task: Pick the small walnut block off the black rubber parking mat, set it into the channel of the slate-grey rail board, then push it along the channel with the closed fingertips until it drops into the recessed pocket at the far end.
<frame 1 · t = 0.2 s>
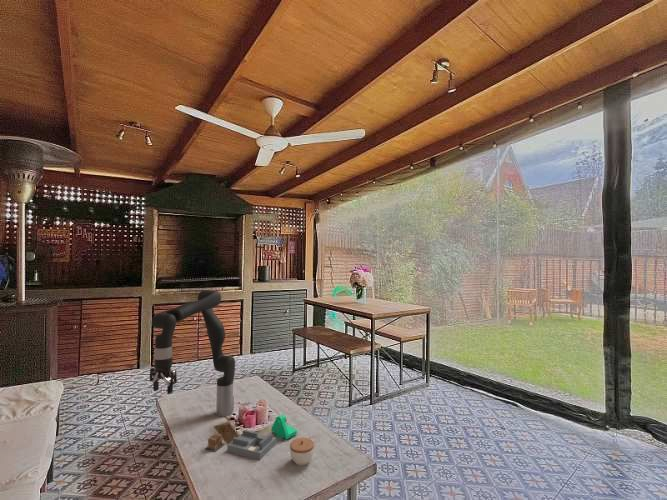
hand: (162, 391, 153), 29 cm above the table, fingers open, 8 cm apart
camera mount: (284, 434, 172), on the table
rail board: (252, 447, 159), on the table
lidded jar: (301, 461, 148), on the table
parking mat: (215, 446, 159), on the table
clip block: (215, 441, 159), point 3 cm above the table, touching parking mat
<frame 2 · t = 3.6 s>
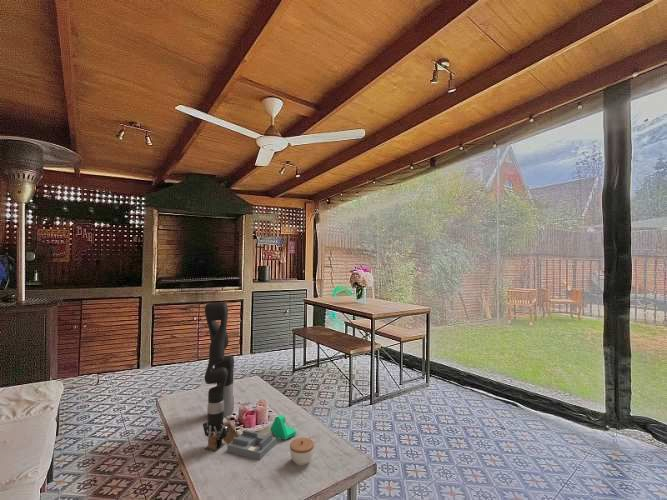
hand: (215, 445, 159), 0 cm above the table, fingers closed on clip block, 4 cm apart
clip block: (215, 441, 159), point 3 cm above the table, touching gripper, parking mat
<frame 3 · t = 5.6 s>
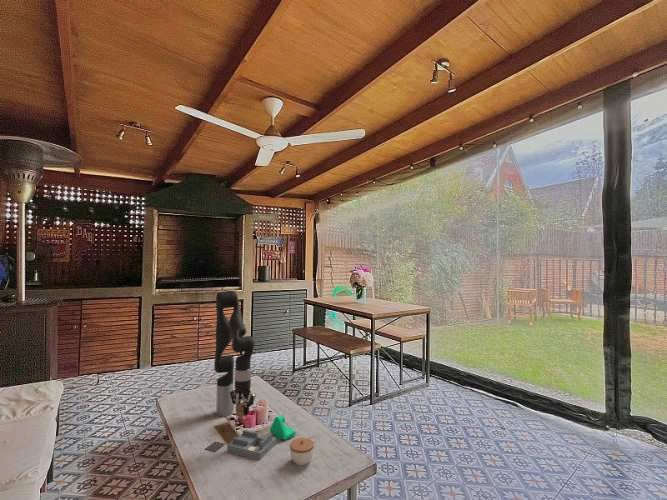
hand: (242, 413, 161), 15 cm above the table, fingers closed on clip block, 4 cm apart
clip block: (242, 409, 161), point 17 cm above the table, touching gripper
when the fingers open (4 cm above the table, at t = 7.6 s): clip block drops 1 cm, resting on rail board.
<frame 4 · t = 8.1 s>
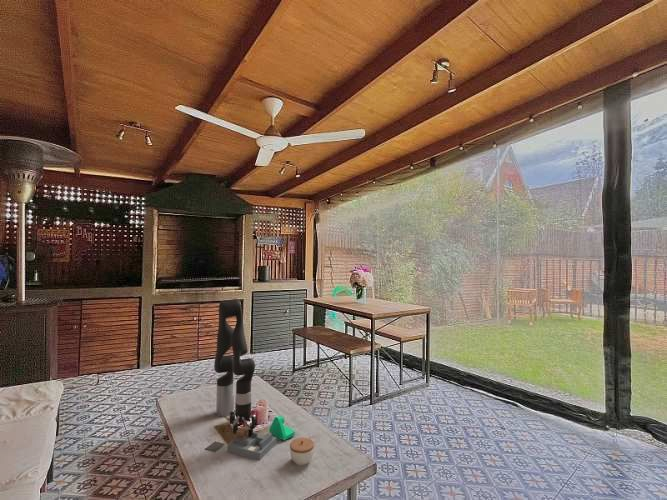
hand: (242, 434, 161), 5 cm above the table, fingers open, 8 cm apart
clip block: (242, 434, 161), point 5 cm above the table, touching rail board
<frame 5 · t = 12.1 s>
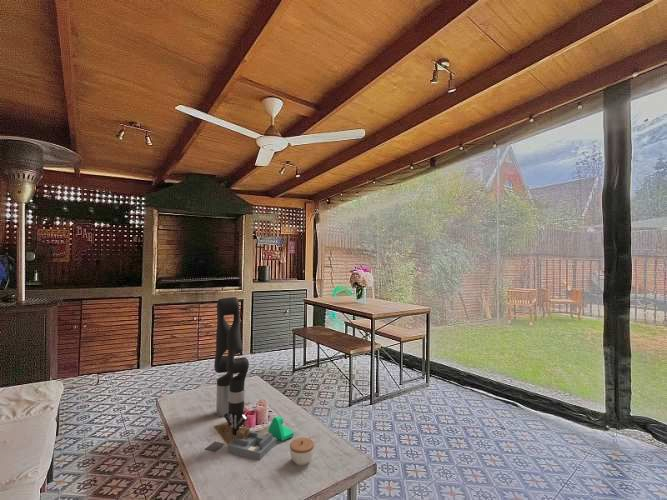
hand: (235, 434, 162), 4 cm above the table, fingers closed
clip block: (242, 434, 161), point 5 cm above the table, touching gripper, rail board
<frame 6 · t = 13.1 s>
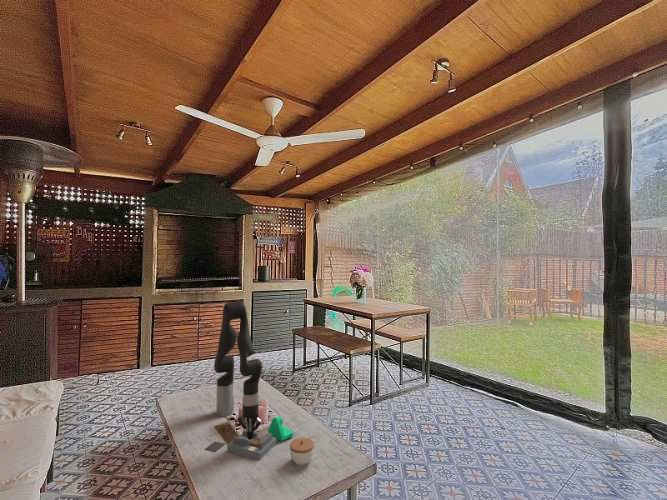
hand: (250, 438, 159), 4 cm above the table, fingers closed
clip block: (257, 444, 158), point 2 cm above the table, tilted 90°
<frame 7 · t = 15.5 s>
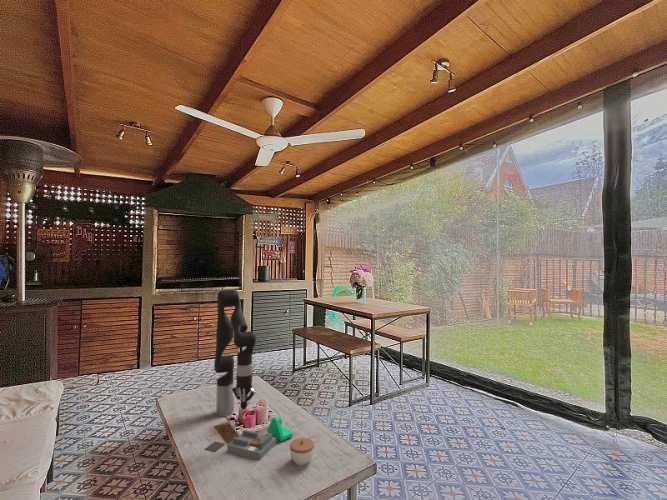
hand: (243, 408, 162), 17 cm above the table, fingers closed
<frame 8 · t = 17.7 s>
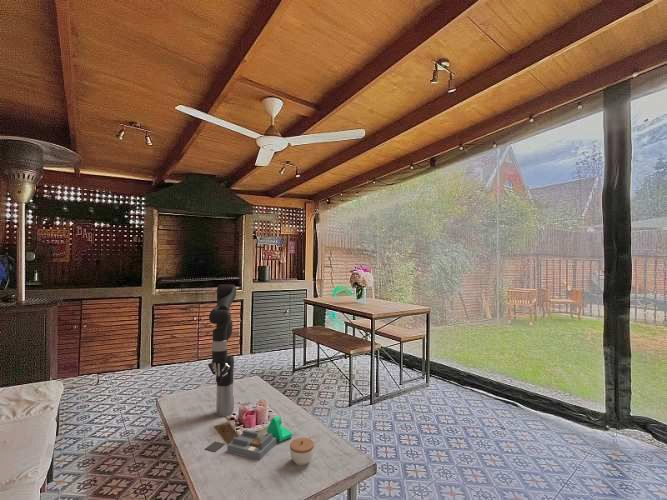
hand: (219, 382, 169), 27 cm above the table, fingers closed
at the end: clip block inside the target area on the rail board (0.7 cm from its centre), point 1.8 cm above the rail board's base; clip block point 1.8 cm above the table; the gripper is holding nothing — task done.
